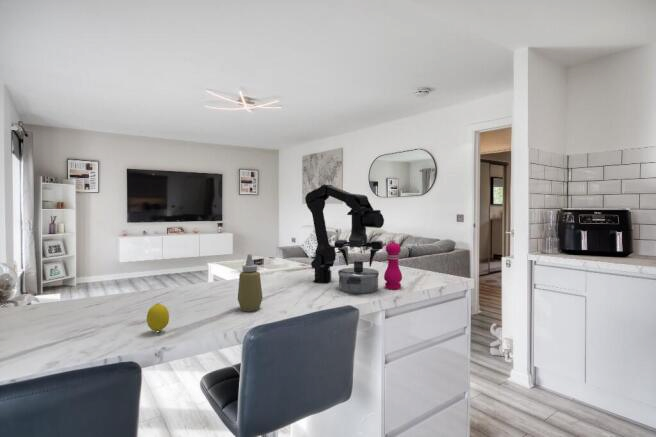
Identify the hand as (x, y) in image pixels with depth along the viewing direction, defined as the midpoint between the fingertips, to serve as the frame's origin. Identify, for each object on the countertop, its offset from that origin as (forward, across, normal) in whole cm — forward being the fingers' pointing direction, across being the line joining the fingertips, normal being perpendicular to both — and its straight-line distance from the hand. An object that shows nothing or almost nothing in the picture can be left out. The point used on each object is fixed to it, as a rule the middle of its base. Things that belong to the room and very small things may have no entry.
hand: (358, 265), depth 149 cm
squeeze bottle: (+10, -29, -36) cm, 47 cm away
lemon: (+10, -43, -62) cm, 76 cm away
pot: (+9, 0, 0) cm, 9 cm away
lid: (+4, 0, 0) cm, 4 cm away
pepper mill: (+10, +13, +6) cm, 17 cm away
